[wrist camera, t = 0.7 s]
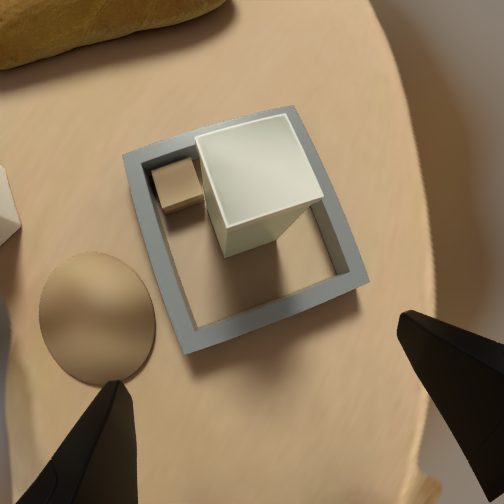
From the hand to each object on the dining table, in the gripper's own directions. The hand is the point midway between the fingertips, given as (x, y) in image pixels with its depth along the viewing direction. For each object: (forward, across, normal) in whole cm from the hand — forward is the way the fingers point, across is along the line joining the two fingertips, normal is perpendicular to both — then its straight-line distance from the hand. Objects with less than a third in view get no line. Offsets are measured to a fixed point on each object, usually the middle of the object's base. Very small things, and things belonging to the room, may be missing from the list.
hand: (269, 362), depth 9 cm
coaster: (+12, +11, +5) cm, 17 cm away
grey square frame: (+15, -2, +1) cm, 15 cm away
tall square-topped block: (+15, -2, +1) cm, 15 cm away
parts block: (+17, +2, -2) cm, 17 cm away
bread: (+32, +11, -25) cm, 42 cm away
